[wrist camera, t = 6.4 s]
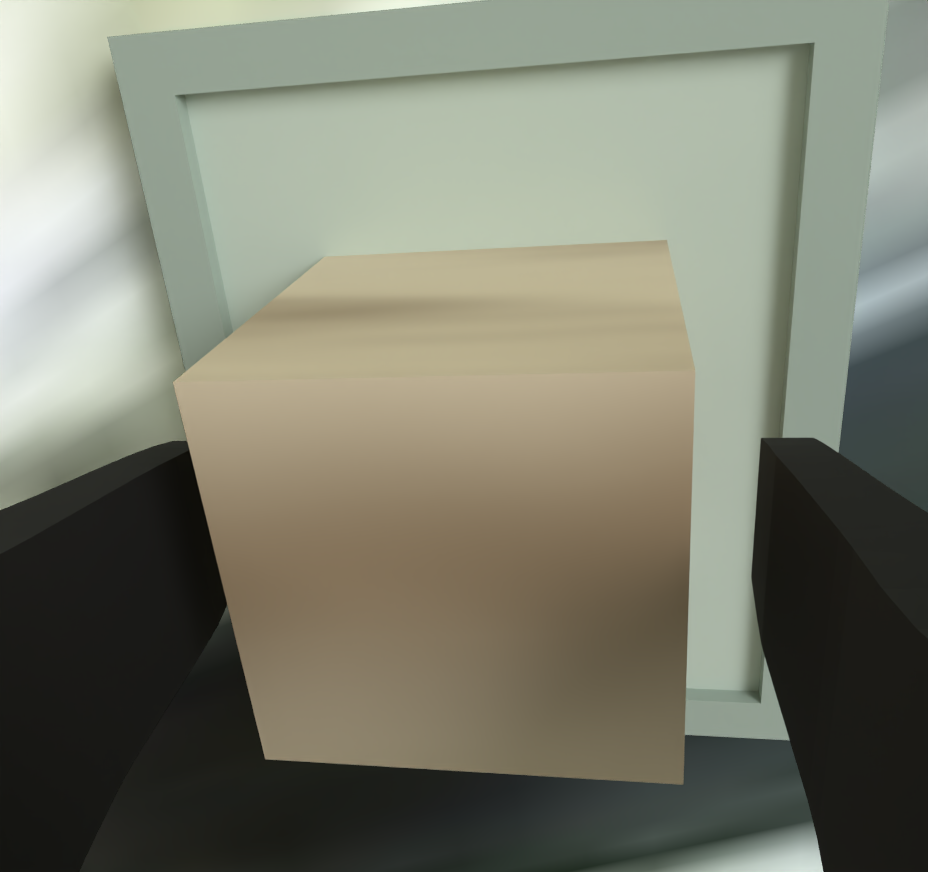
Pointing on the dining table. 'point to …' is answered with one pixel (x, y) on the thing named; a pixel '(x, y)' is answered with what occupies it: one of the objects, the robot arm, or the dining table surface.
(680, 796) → the dining table surface
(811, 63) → the grey green picture frame
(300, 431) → the maple cube
